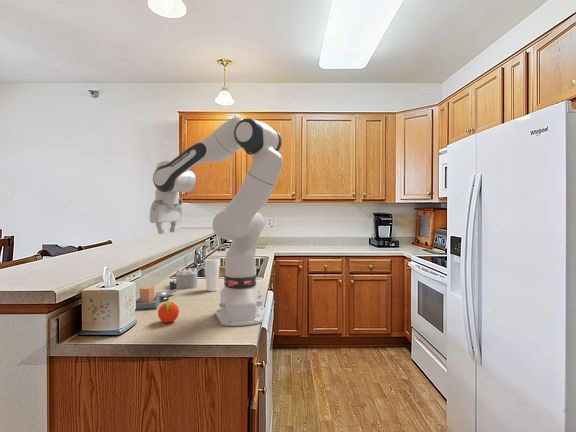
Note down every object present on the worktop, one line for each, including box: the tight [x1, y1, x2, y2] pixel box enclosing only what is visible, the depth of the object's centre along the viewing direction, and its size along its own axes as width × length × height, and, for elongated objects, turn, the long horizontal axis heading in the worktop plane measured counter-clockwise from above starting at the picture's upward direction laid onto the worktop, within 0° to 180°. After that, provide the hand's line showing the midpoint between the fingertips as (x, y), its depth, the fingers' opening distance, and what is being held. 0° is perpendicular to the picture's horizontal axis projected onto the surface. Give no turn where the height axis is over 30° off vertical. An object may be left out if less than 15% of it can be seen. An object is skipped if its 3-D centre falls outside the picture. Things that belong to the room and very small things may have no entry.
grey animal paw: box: [175, 267, 199, 290], centre depth 177 cm, size 10×13×9 cm
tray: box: [135, 296, 161, 311], centre depth 139 cm, size 9×9×2 cm
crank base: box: [160, 295, 169, 303], centre depth 149 cm, size 6×6×1 cm
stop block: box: [139, 286, 156, 303], centre depth 139 cm, size 4×4×7 cm
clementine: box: [157, 301, 180, 324], centre depth 120 cm, size 8×7×7 cm
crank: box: [155, 280, 178, 298], centre depth 153 cm, size 13×4×4 cm, turn 165°
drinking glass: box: [204, 257, 220, 292], centre depth 166 cm, size 7×7×15 cm
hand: (166, 232), depth 147 cm, fingers open, 8 cm apart
